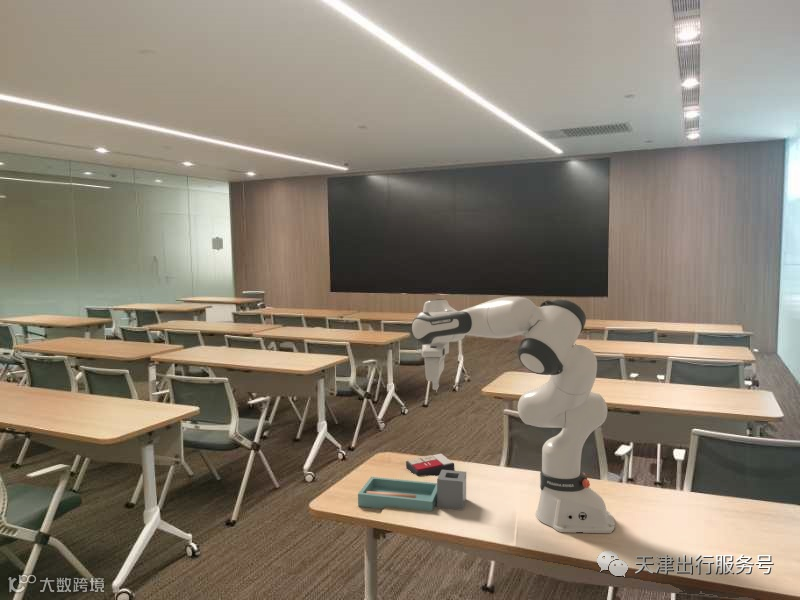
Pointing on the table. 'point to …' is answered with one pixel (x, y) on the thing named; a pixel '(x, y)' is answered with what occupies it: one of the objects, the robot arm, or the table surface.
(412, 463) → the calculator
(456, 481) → the grey pencil holder
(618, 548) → the table surface
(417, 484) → the tray
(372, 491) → the dowel pin
